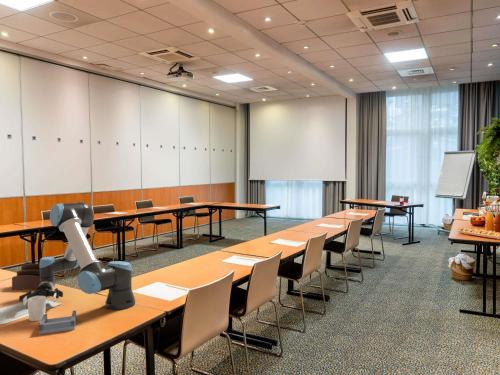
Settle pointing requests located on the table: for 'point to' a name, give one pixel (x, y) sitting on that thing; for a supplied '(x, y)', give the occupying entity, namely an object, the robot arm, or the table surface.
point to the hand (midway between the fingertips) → (39, 301)
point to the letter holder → (27, 277)
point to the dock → (57, 324)
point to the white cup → (36, 307)
